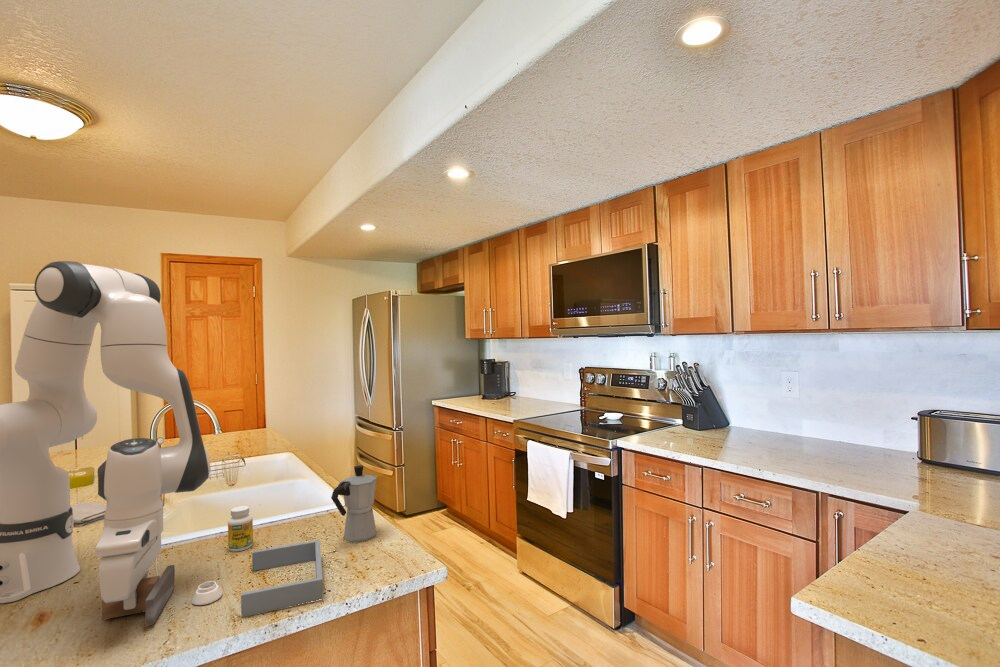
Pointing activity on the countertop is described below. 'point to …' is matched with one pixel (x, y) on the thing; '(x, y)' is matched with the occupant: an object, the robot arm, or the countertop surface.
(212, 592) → the white jar
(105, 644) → the countertop surface
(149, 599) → the scraper
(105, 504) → the washcloth
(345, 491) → the coffee maker
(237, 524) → the supplement bottle
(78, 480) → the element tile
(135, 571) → the robot arm
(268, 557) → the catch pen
